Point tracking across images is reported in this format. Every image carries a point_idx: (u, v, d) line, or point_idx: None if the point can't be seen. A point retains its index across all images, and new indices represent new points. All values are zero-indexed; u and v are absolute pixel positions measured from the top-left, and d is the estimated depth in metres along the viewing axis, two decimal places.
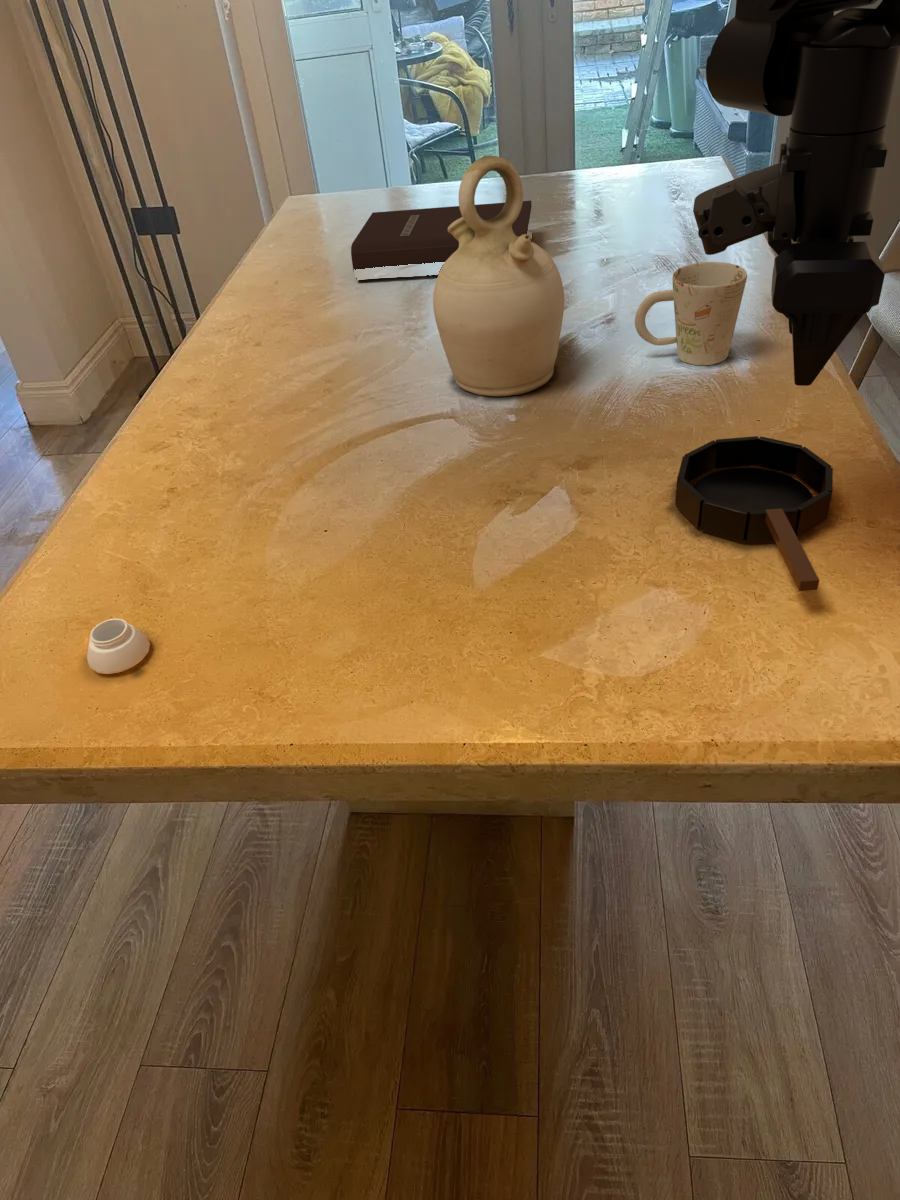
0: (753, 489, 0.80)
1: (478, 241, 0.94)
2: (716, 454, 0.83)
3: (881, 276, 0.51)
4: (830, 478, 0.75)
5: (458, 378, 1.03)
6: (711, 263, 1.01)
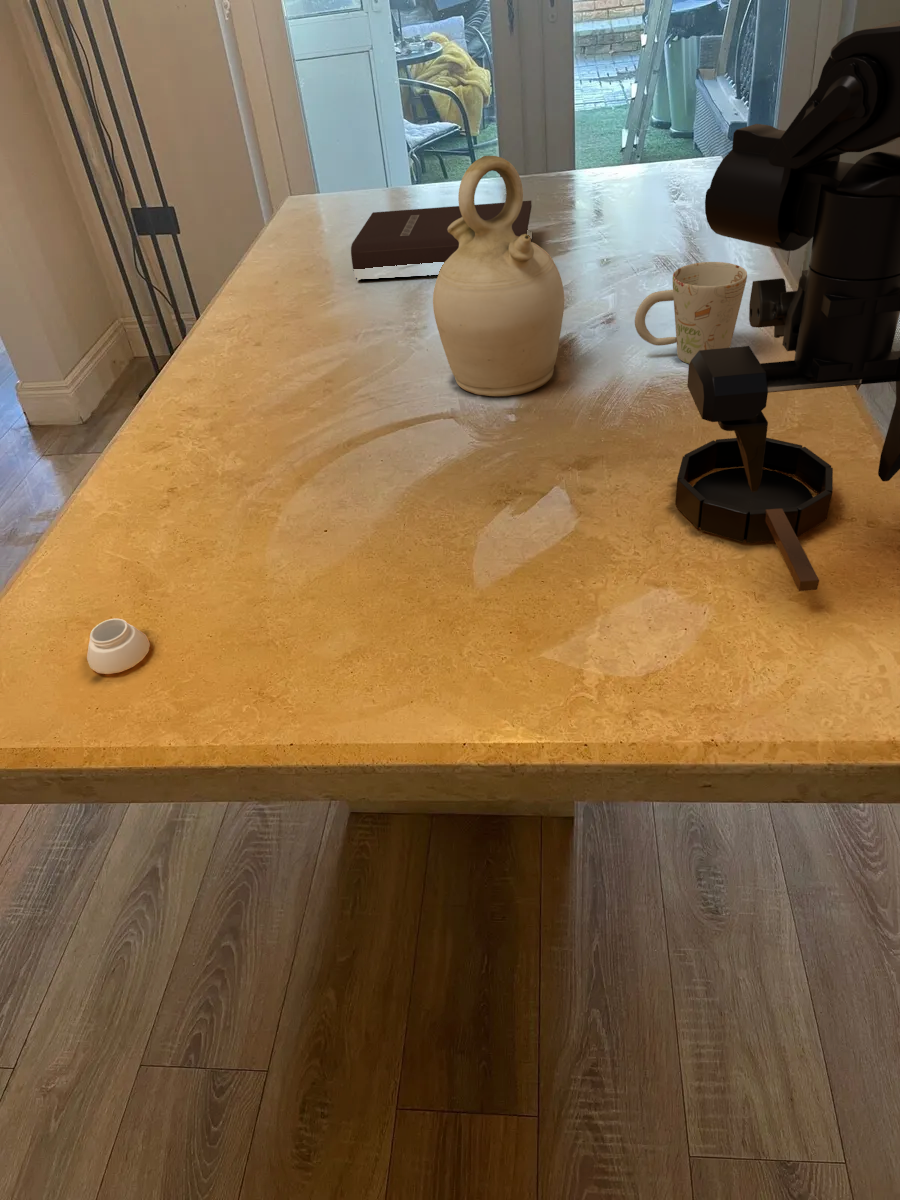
0: None
1: (478, 241, 0.94)
2: (716, 454, 0.83)
3: (711, 396, 0.55)
4: (830, 478, 0.75)
5: (458, 378, 1.03)
6: (711, 263, 1.01)
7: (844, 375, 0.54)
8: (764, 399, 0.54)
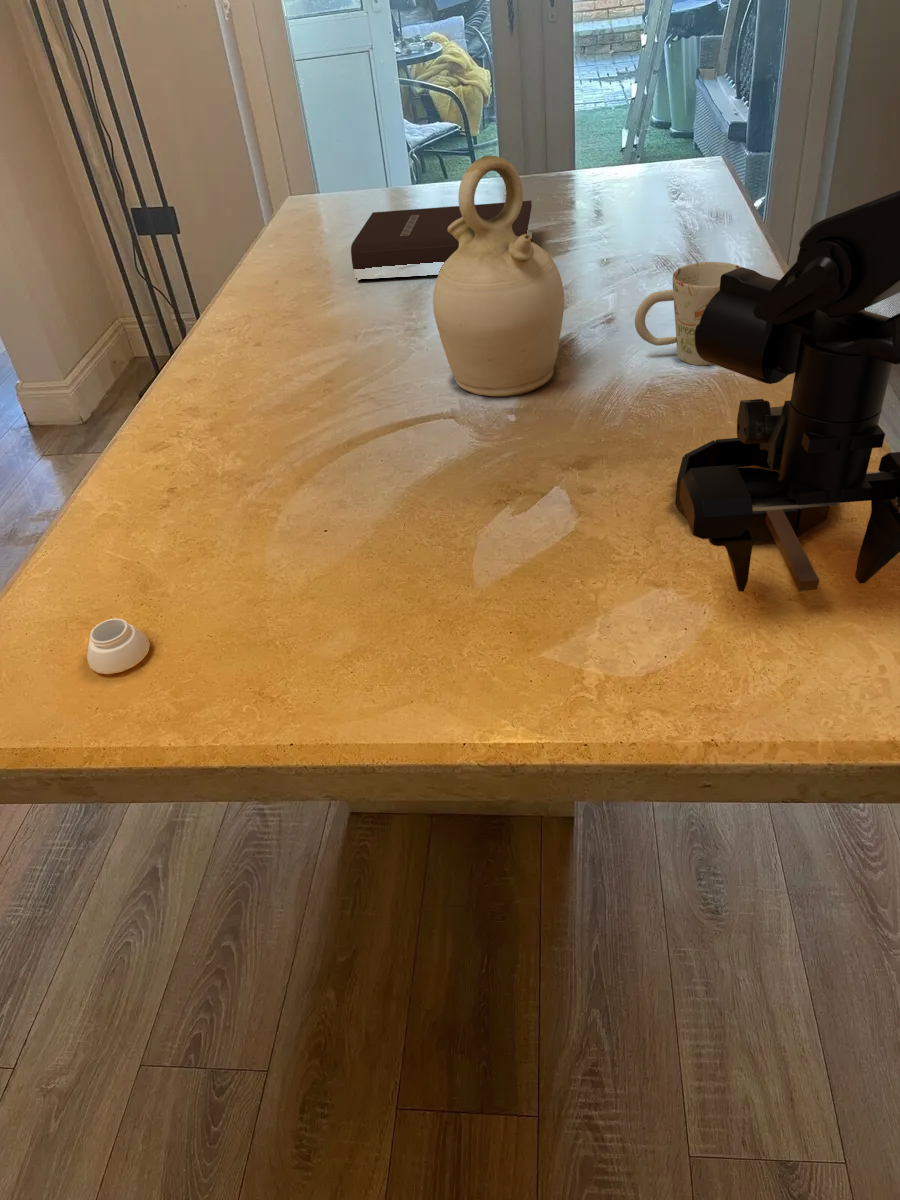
0: None
1: (478, 241, 0.94)
2: (716, 454, 0.83)
3: (701, 517, 0.60)
4: None
5: (458, 378, 1.03)
6: (711, 263, 1.01)
7: (822, 500, 0.59)
8: (749, 520, 0.59)
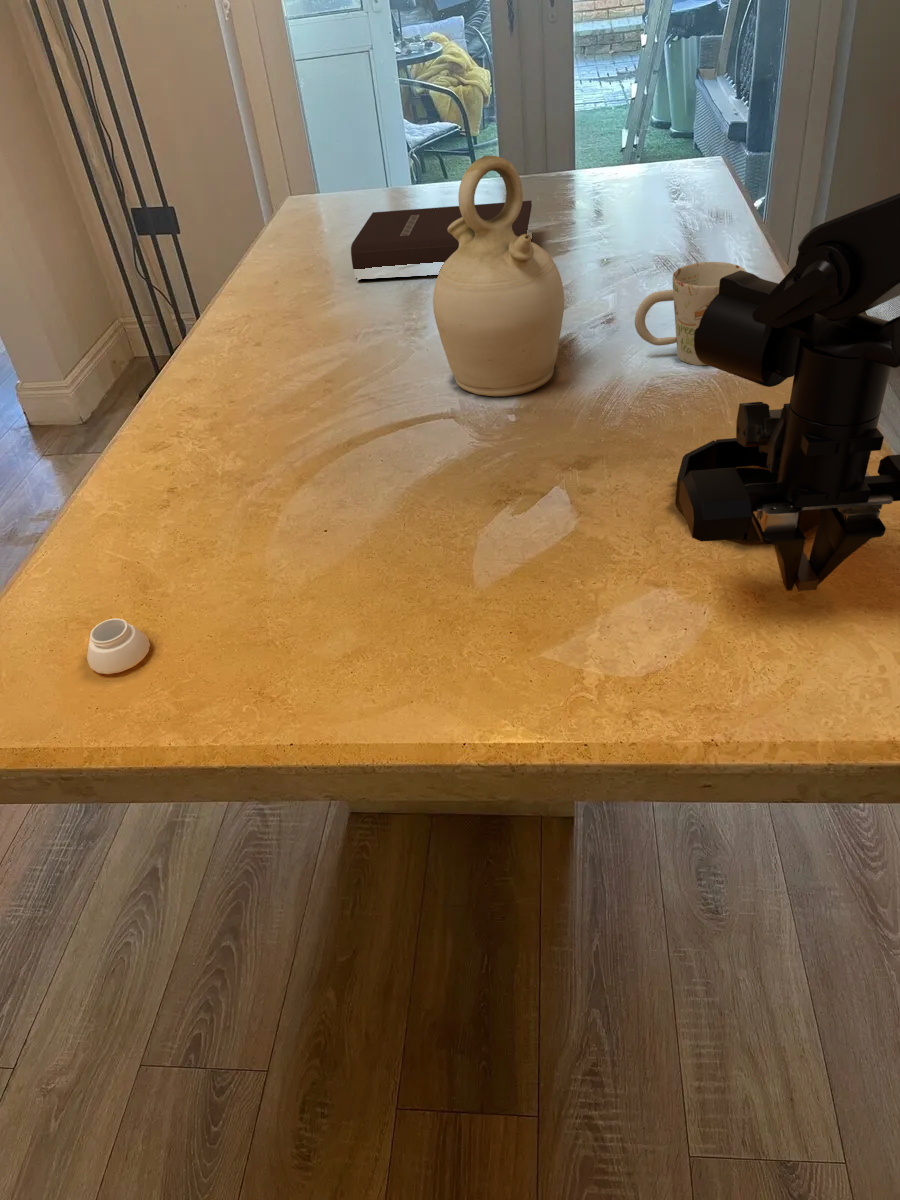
0: None
1: (478, 241, 0.94)
2: (716, 454, 0.83)
3: (700, 519, 0.60)
4: None
5: (458, 378, 1.03)
6: (711, 263, 1.01)
7: (821, 503, 0.59)
8: (749, 523, 0.60)
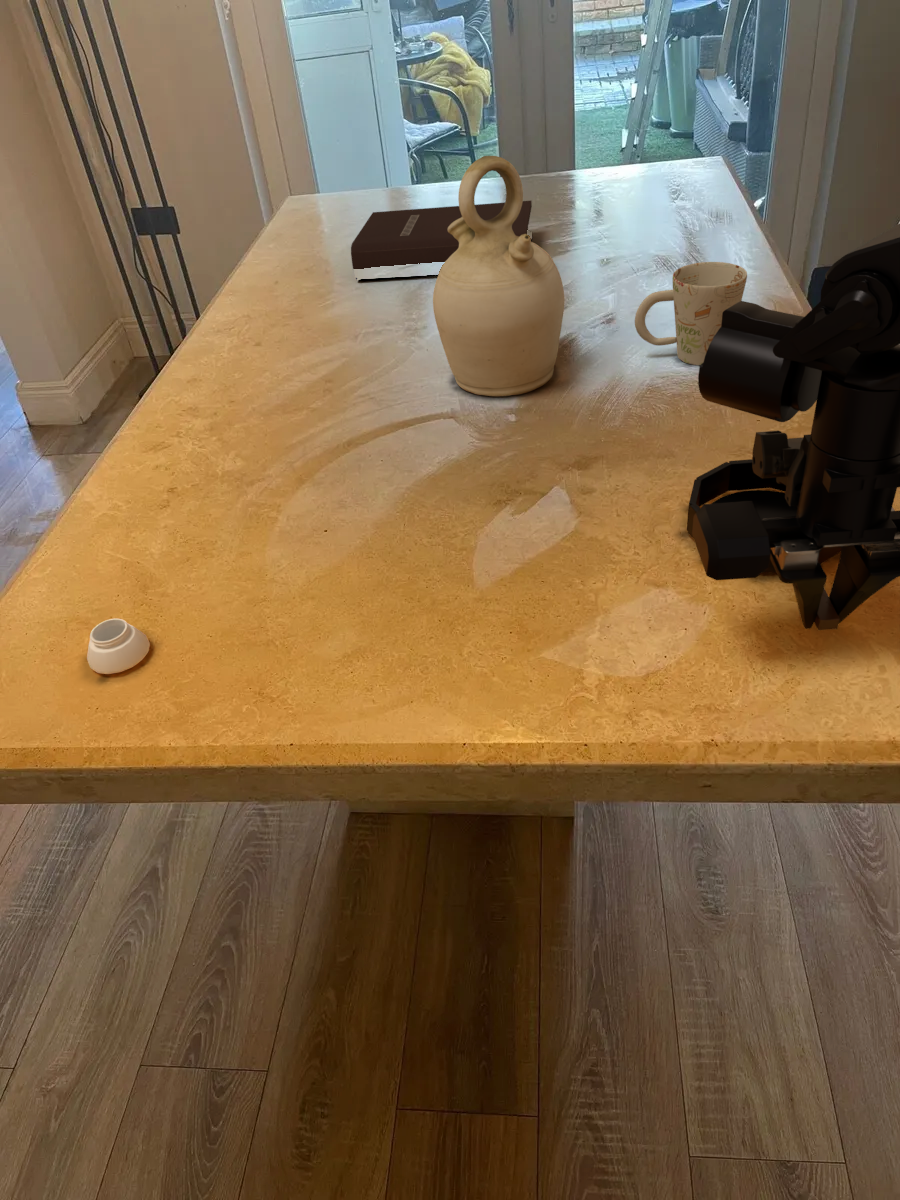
0: (768, 514, 0.76)
1: (478, 241, 0.94)
2: (729, 476, 0.79)
3: (715, 557, 0.56)
4: None
5: (458, 378, 1.03)
6: (711, 263, 1.01)
7: (844, 541, 0.55)
8: (767, 561, 0.56)
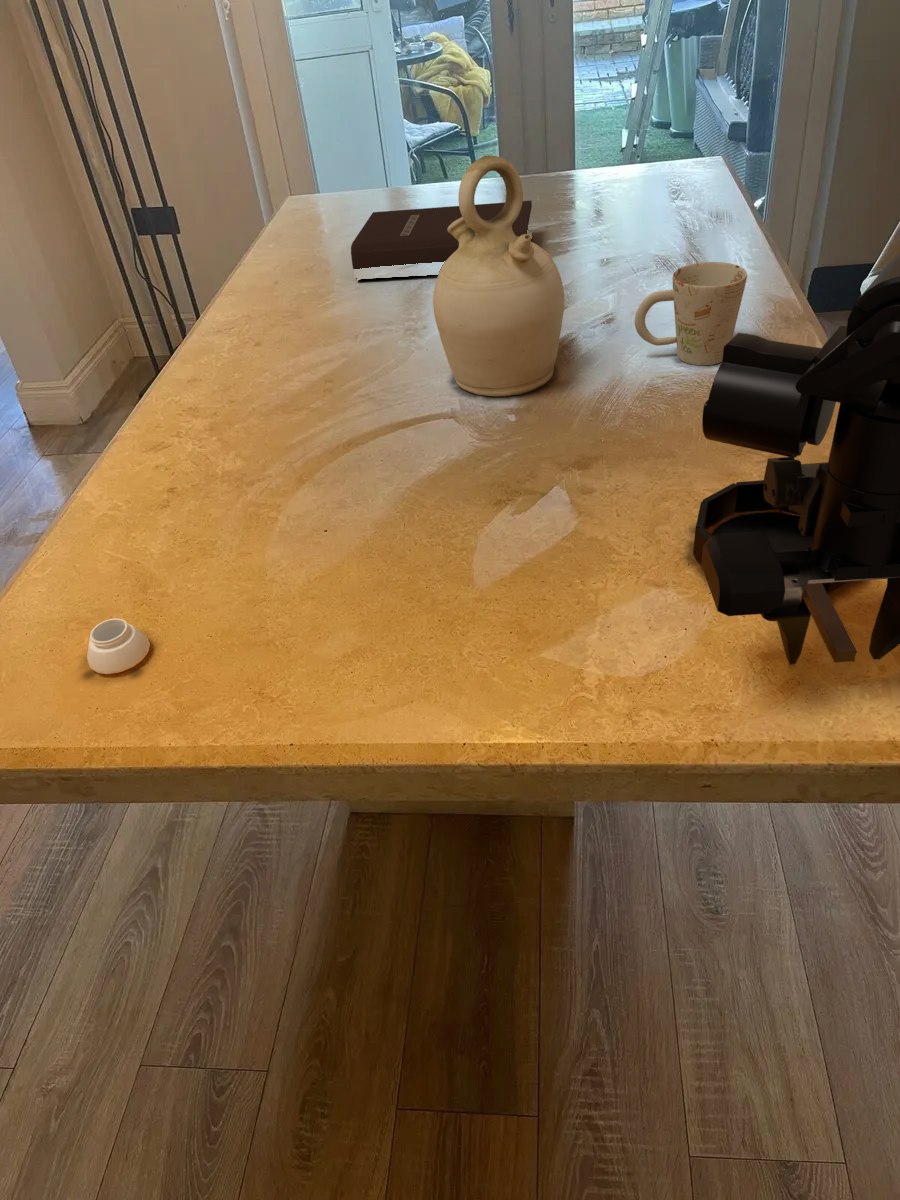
0: (777, 537, 0.74)
1: (478, 241, 0.94)
2: (736, 498, 0.77)
3: (727, 593, 0.54)
4: None
5: (458, 378, 1.03)
6: (711, 263, 1.01)
7: (862, 576, 0.53)
8: (781, 597, 0.54)
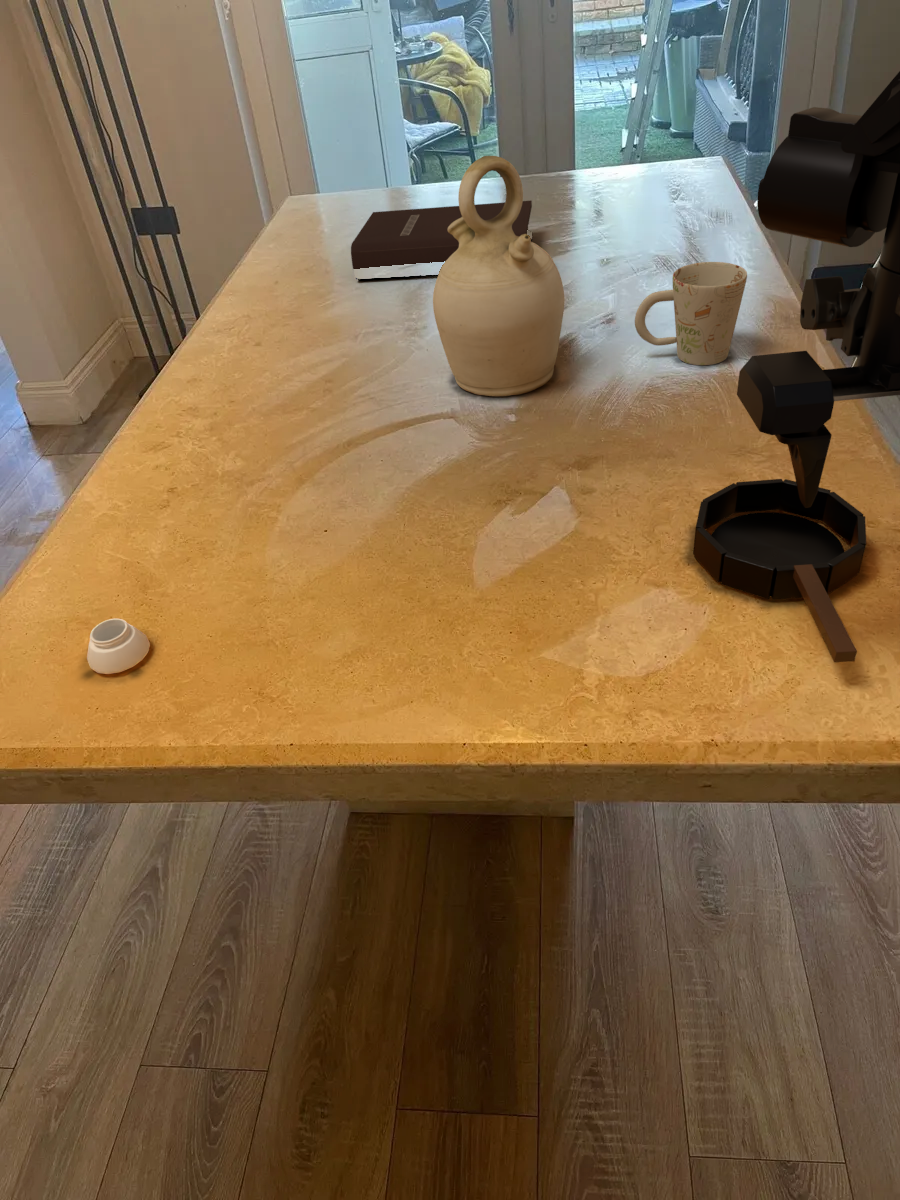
0: (777, 537, 0.74)
1: (478, 241, 0.94)
2: (736, 498, 0.77)
3: (771, 407, 0.50)
4: (863, 529, 0.69)
5: (458, 378, 1.03)
6: (711, 263, 1.01)
7: None
8: (829, 410, 0.50)
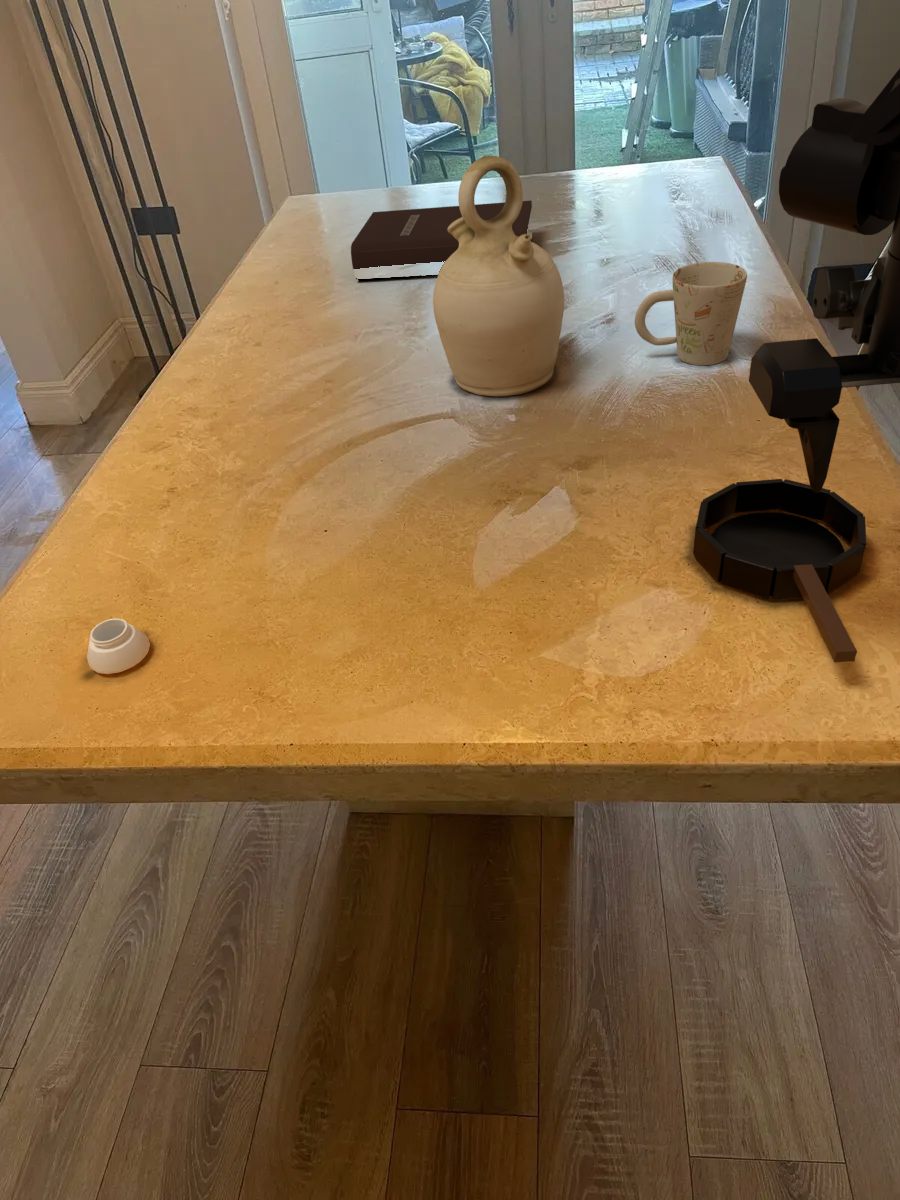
0: (777, 537, 0.74)
1: (478, 241, 0.94)
2: (736, 498, 0.77)
3: (780, 391, 0.51)
4: (863, 529, 0.69)
5: (458, 378, 1.03)
6: (711, 263, 1.01)
7: None
8: (837, 395, 0.51)
